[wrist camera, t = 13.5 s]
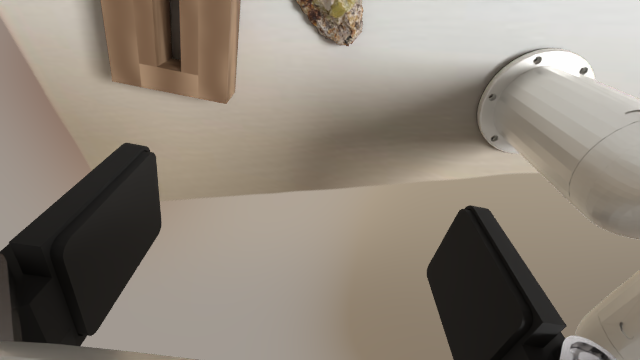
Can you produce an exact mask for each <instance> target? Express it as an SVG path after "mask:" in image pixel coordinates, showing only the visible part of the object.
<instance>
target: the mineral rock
mask: <svg viewBox="0 0 640 360" xmlns="http://www.w3.org/2000/svg"><path fill="white" fill-rule="evenodd" d="M296 1H297V3H298V4H299V5H300V7H301V8H302V11H303V12H304V13H305V14H306V15H307V16H308V18H309V21H311V23H312V24H313V25H314V26H316V27H317V28H318V32H319V33H320V34H321V35H323V36H325V37H326V38H330V39H332V40H334V42H335V43H337V44H338V45H340V46H341V45H346V46H349V44H352V43H353V41H354V40H355V39H356V38H357V37H358V35H359V34H360V33H361V32H362V26H363V21H362V13H363V7H362V0H296Z"/></svg>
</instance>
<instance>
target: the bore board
mask: <svg viewBox="0 0 640 360" xmlns="http://www.w3.org/2000/svg"><path fill="white" fill-rule="evenodd" d="M101 7H102V14H103V21H104V27H105V34H106V41H107V48H108V55H109V61H110V68H111V75H112V81H113V82H119V83H124V84H129V85H134V86H139V87H144V88H149V89H154V90H159V91H164V92H169V93H174V94H179V95H184V96H189V97H194V98H199V99H204V100H209V101H214V102H219V103H224V104H226V103H227V102H228V101H229V99H230V98H231V97H232V95H233V94H234V93H235V82H236V66H237V50H238V33H239V17H240V0H179V13H180V46H181V60H179V59H174V58H172V43H171V20H170V0H101Z"/></svg>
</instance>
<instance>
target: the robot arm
mask: <svg viewBox="0 0 640 360" xmlns="http://www.w3.org/2000/svg"><path fill="white" fill-rule="evenodd" d="M490 95H491V96H490ZM477 119H478V126H479V129H480V132H481V133H482V135H483V136H484V138H485V139H486V140H487V141H488V143H489V144H491V145H492V146H493V147H495V148H496V149H498V150H501V151H503V152H507V153H512V154H521V155H522V156H523V157H524V158H525V159H526V160H527V161H528V162H529V163H530V164H531V165H532V166H533V167H534V168H535V169H536V170H537V171H538V172H539V173H540V174H541V175H542V176H543V177H545V179H546V180H547V181H548V182H549V183H550V184H551V185H553V186H554V187H555V188H556V189H557V190H558V191H559V192H560V193H561V194H562V195H563V196H564V197H565V198H566V199H567V200H568V201H569V202H570V203H571V204H572V205H573V206H574V207H575V208H576V209H578V211H580V212H581V213H582V214H583V215H584V216H585V217H586V218H587V219H588V220H590V221H591V222H592V223H594V224H595V225H597V226H598V227H600V228H602V229H604V230H607V231H609V232H611V233H614V234H617V235H620V236H624V237H629V238H634V239H640V99H639V98H637V97H634V96H632V95H630V94H627V93H625V92H622V91H620V90H618V89H615V88H613V87H611V86H608V85H606V84H603V83H601V82H599V81H596V80H595V74H594V72H593V69H592V67H591V66H590V64H589V63H588V62H587V61H586V60H585V59H584V58H583V57H581V56H580V55H578V54H576V53H573V52H571V51H568V50H563V49H559V48H547V49H541V50H536V51H533V52H530V53H527V54H525V55H523V56H521V57H519V58H517V59H515V60H513V61H512V62H511V63H509V64H508V65H506V66H505V67H504V68H503V69H502V70H501V71H500V72H498V73H497V74H496V75H495V76H494V78H493V79H492V80H491V82H490V83H489V84H488V86H487V87H486V89H485V91H484V93H483V95H482V97H481V100H480V103H479V106H478V113H477ZM160 228H161V212H160V200H159V189H158V177H157V165H156V156H155V154H154V153H152V152H150V150H149V148H148V147H147V146H141V145H136V144H130V143H124V144H123V145H121V146H120V147H119V148H118V149H117V150H116V151H114V152H113V153H112V154H111V155H110V156H109V157H107V158H106V159H105V160H104V161H103V162H102V163H100V164H99V165H98V166H97V167H96V168H95V169H93V170H92V171H91V172H90V173H89V174H88V175H87V176H85V177H84V178H83V179H82V180H81V181H80V182H79V183H77V184H76V185H75V186H74V187H73V188H71V189H70V190H69V191H68V192H67V193H66V194H64V195H63V196H62V197H61V198H60V199H59V200H57V202H55V203H54V204H53V205H52V206H50V207H49V208H48V209H47V210H46V211H45V212H44V213H42V214H41V215H40V216H39V217H38V218H37V219H35V220H34V221H33V222H32V223H31V224H30V225H28V227H26V228H25V229H24V230H23V231H21V232H20V233H19V234H18V235H17V236H16V237H15V238H13V239H12V240H11V241H10V242H9V244H8V245H7V246H6V247H5V248H4V249H3V250H1V251H0V360H196V359H188V358H180V357H172V356H163V355H155V354H147V353H138V352H129V351H119V350H110V349H100V348H91V347H81V344H82V342H83V341H84V340H85V338H86V336H87V335H89V336H91V335H93V334H94V333H96V331H97V330H98V328H99V327H100V325H101V324H102V322H103V321H104V319H105V317H106V316H107V314H108V313H109V311H110V310H111V308H112V306H113V305H114V303H115V302H116V300H117V299H118V297H119V295H120V294H121V292H122V291H123V289H124V288H125V286H126V284H127V283H128V281H129V280H130V278H131V277H132V275H133V273H134V272H135V270H136V268H137V267H138V266H139V264H140V262H141V261H142V259H143V258H144V256H145V255H146V253H147V251H148V250H149V248H150V247H151V245H152V244H153V242H154V240H155V239H156V237H157V236H158V234H159V232H160ZM427 278H428V281H429V284H430V287H431V290H432V293H433V296H434V300H435V303H436V306H437V309H438V312H439V315H440V318H441V322H442V325H443V328H444V331H445V334H446V337H447V340H448V343H449V346H450V350H451V352H452V356H453V359H454V360H640V270H639V271H638V272H636V273H635V274H634V275H633V276H631V277H630V278H629V279H628V280H627V281H625V282H624V283H623V284H622V285H621V286H619V287H618V288H617V289H616V290H614V291H613V292H612V293H611V294H610V295H608V296H607V297H606V298H605V299H604V300H603V301H602V302H600V303H599V304H598V305H597V306H596V307H594V309H592V310H591V311H590V312H589V313H588V314H587V315H586V316H585V317H584V318H583V319H582V321H581V322H580V324H579V326H578V328H577V329H576V333H575V336H569V337H567V338H564V336H563V335H562V333H561V331H562V330H563V329H564V328H565V327H566V324H565V323H564V321H563V320H562V318H561V317H560V315H559V314H558V312H557V311H556V309H555V308H554V306H553V305H552V303H551V302H550V300H549V299H548V297H547V296H546V294H545V293H544V291H543V290H542V288H541V287H540V285H539V284H538V282H537V281H536V279H535V278H534V276H533V275H532V273H531V272H530V270H529V269H528V267H527V266H526V264H525V263H524V261H523V260H522V258H521V257H520V255H519V254H518V252H517V251H516V249H515V248H514V246H513V245H512V243H511V242H510V240H509V239H508V237H507V236H506V234H505V233H504V231H503V230H502V228H501V227H500V225H499V224H498V222H497V221H496V219H495V218H494V216H493V215H492V213H491V212H490V211H489V209H486V208H481V207H475V206H467V207H466V208H465V209H461V210H460V211H459V212H458V214H457V216H456V217H455V219H454V221H453V223H452V224H451V226H450V228H449V230H448V232H447V233H446V235H445V237H444V239H443V241H442V243H441V244H440V246H439V248H438V249H437V251H436V253H435V255H434V257H433V258H432V260H431V262H430V264H429V266H428V268H427Z"/></svg>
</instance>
